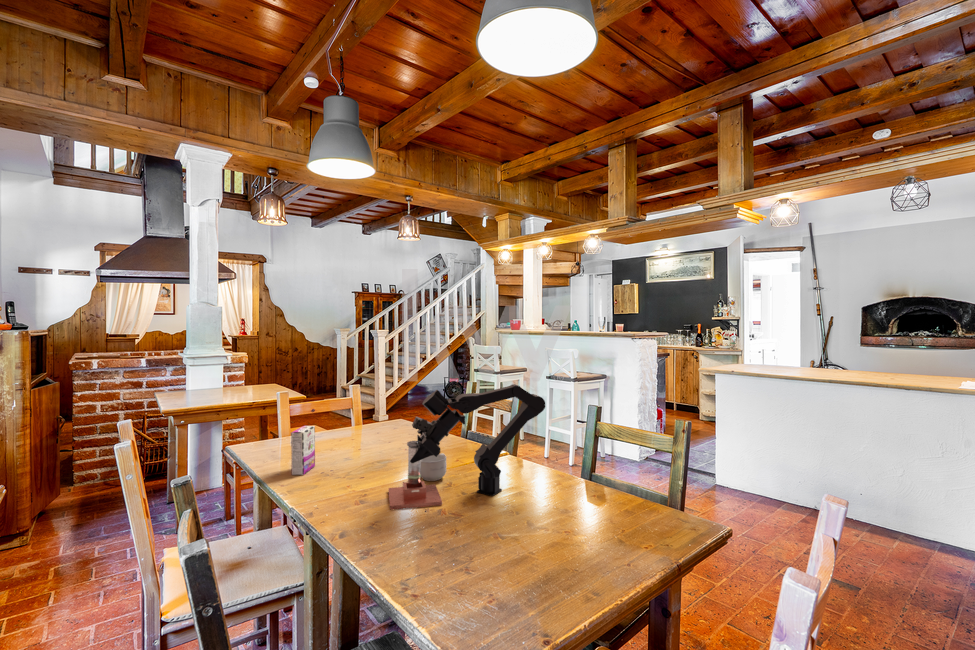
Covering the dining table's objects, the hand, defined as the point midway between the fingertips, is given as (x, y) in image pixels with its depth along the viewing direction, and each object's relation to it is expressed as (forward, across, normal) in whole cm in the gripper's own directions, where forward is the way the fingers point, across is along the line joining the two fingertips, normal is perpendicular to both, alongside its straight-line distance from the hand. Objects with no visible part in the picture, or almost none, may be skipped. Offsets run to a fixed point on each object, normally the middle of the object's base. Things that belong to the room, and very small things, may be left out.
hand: (410, 460), depth 148 cm
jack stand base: (+8, 0, +10) cm, 13 cm away
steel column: (+4, 0, +6) cm, 7 cm away
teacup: (+2, -19, +16) cm, 25 cm away
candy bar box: (+36, -38, -18) cm, 56 cm away
